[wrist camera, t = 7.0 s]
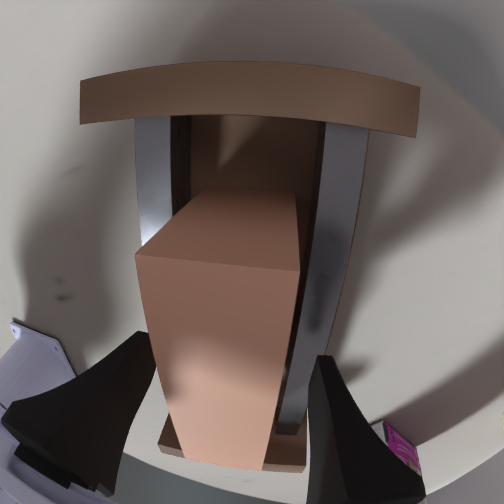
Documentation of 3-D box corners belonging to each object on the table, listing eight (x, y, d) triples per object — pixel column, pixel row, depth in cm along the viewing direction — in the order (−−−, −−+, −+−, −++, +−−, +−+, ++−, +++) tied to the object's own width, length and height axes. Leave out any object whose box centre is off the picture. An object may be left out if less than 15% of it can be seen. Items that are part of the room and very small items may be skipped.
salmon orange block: (271, 376, 18) (261, 470, 12) (211, 368, 18) (185, 458, 12) (294, 193, 13) (300, 271, 7) (206, 186, 13) (134, 254, 7)
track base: (303, 408, 21) (301, 472, 16) (182, 393, 22) (161, 452, 17) (366, 98, 11) (420, 87, 6) (156, 88, 12) (80, 80, 7)
